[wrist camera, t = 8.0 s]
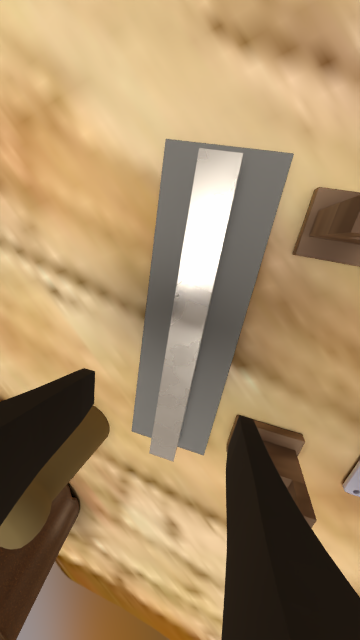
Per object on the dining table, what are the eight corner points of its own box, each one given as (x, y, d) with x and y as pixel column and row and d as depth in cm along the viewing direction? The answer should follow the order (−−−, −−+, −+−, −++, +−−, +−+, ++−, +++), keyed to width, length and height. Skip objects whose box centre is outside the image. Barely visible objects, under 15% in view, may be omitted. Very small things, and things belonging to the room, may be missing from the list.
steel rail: (241, 167, 14) (243, 153, 11) (179, 440, 22) (173, 461, 20) (204, 163, 14) (199, 147, 12) (157, 432, 23) (149, 453, 21)
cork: (71, 439, 28) (-23, 552, 17) (58, 399, 26) (-55, 501, 16) (113, 444, 26) (39, 572, 16) (104, 403, 24) (12, 518, 14)
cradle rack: (420, 204, 13) (567, 174, 7) (287, 464, 21) (307, 544, 16) (314, 190, 14) (372, 152, 8) (226, 444, 22) (224, 514, 17)
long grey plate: (290, 158, 14) (293, 153, 13) (204, 448, 23) (203, 455, 22) (169, 144, 15) (165, 138, 14) (134, 425, 24) (131, 431, 24)
